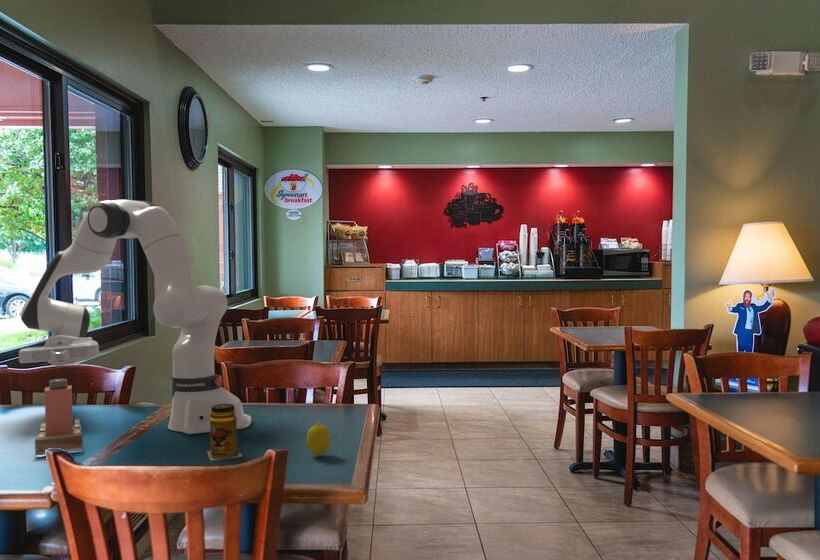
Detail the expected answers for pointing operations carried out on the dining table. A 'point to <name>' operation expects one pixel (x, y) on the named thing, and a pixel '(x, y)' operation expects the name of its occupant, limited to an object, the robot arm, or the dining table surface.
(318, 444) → the lemon
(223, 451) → the condiment
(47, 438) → the press base
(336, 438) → the dining table surface
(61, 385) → the pink upright post
